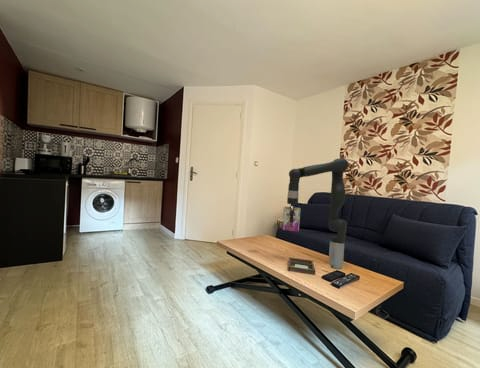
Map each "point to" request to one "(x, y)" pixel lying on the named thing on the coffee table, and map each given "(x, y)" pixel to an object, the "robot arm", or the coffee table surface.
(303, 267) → the sage offcut
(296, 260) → the tray
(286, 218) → the candy bar box
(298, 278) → the coffee table surface
